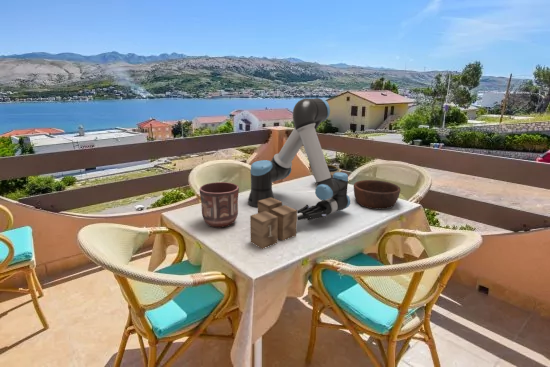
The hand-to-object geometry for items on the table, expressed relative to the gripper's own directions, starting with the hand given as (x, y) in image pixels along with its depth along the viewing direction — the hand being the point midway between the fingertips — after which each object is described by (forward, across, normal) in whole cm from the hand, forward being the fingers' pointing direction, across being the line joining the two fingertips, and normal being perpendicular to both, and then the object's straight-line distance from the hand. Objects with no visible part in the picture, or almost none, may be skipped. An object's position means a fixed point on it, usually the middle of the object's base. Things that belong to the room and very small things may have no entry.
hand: (291, 219), depth 141 cm
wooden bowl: (-63, -3, -7) cm, 63 cm away
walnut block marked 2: (+3, +12, -6) cm, 14 cm away
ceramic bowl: (-67, +37, -6) cm, 77 cm away
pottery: (+19, +29, -6) cm, 35 cm away
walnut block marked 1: (+16, 0, -6) cm, 17 cm away
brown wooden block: (+4, 0, -6) cm, 8 cm away
